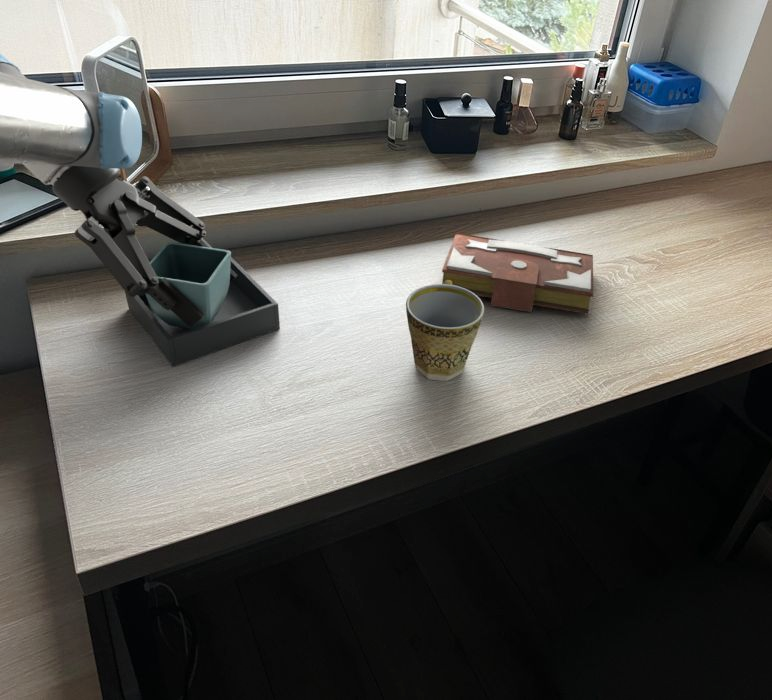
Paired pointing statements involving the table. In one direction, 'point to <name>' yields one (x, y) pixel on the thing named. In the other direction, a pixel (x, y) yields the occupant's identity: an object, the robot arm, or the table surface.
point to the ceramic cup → (442, 328)
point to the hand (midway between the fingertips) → (214, 300)
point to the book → (520, 273)
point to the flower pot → (193, 279)
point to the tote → (229, 327)
